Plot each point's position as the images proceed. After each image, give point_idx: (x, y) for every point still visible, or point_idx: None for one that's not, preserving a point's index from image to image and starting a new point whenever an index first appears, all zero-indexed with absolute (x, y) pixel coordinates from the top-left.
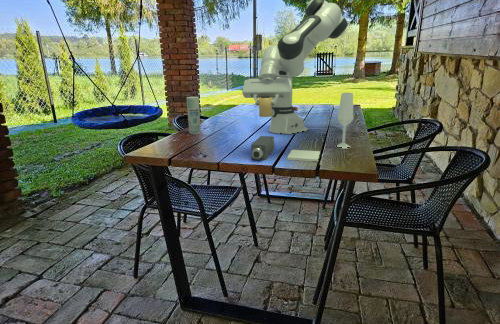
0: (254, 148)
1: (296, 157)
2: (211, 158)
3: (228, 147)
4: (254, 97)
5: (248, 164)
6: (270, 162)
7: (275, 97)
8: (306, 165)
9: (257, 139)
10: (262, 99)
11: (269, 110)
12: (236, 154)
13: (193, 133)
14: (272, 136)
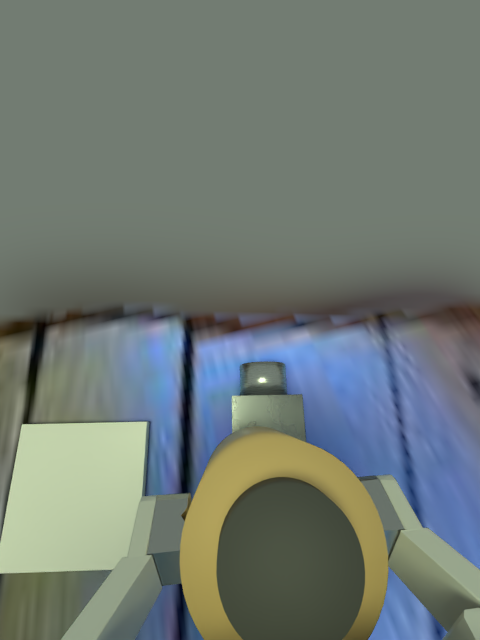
0: (279, 381)
1: (109, 430)
2: (435, 365)
3: None
4: (474, 567)
5: (277, 330)
6: (207, 372)
7: (117, 603)
8: (75, 369)
9: None
10: (296, 439)
11: (212, 456)
12: (372, 446)
13: None
14: None
